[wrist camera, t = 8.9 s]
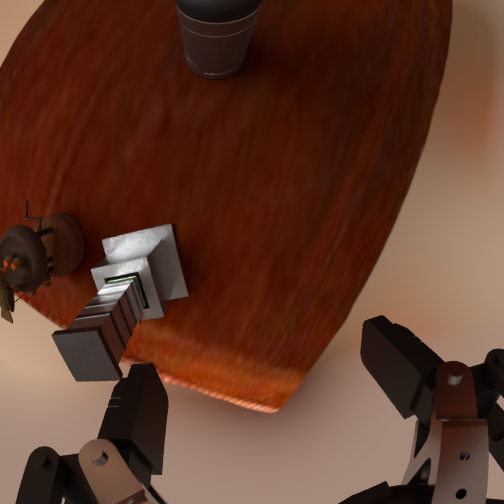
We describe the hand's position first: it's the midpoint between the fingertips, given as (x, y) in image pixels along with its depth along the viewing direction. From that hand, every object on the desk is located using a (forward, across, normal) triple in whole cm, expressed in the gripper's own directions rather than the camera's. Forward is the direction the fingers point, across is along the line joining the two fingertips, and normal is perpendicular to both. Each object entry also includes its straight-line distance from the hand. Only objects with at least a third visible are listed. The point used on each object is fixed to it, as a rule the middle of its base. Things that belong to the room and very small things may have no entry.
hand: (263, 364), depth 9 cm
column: (+28, +14, +5) cm, 31 cm away
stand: (+34, +14, +6) cm, 37 cm away
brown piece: (+34, +29, -2) cm, 45 cm away
